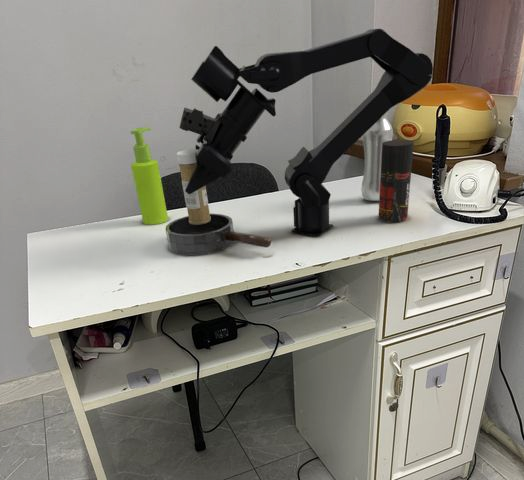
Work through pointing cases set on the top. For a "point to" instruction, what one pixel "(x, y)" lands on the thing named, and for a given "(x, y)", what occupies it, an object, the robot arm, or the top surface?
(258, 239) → the pan handle
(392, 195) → the deodorant
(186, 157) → the sprinkles bottle
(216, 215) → the pan
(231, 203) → the top surface
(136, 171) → the soap dispenser
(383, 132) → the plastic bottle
